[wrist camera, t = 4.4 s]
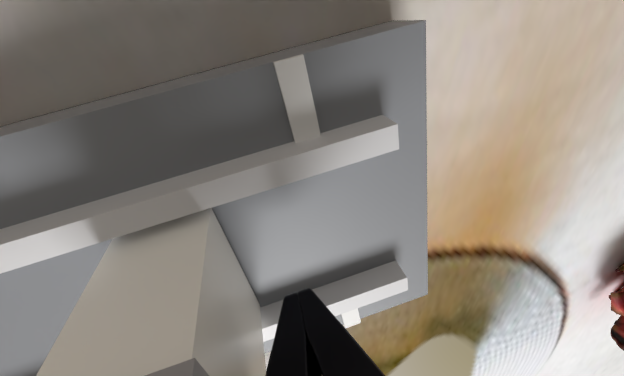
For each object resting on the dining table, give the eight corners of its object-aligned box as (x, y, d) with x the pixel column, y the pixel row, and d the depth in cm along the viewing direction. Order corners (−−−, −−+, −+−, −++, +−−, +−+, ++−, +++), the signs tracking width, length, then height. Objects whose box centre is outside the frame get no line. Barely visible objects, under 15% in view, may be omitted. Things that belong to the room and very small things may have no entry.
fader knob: (212, 202, 9) (192, 376, 5) (263, 305, 12) (280, 476, 7) (108, 235, 9) (-19, 452, 4) (184, 332, 12) (153, 527, 7)
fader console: (392, 20, 10) (448, 20, 7) (407, 265, 16) (439, 311, 14) (-362, 224, 8) (-644, 320, 5) (-10, 411, 14) (-64, 497, 12)
